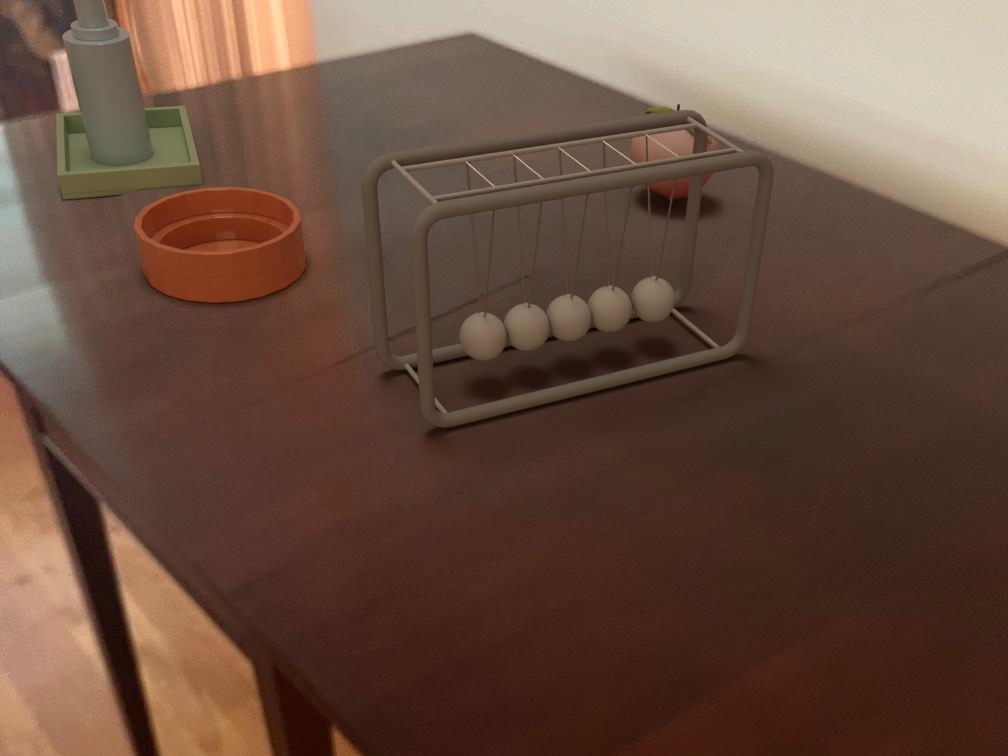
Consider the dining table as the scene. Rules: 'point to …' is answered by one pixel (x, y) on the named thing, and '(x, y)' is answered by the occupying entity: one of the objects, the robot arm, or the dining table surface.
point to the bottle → (107, 86)
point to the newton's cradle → (566, 312)
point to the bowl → (220, 244)
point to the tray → (162, 169)
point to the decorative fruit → (669, 154)
